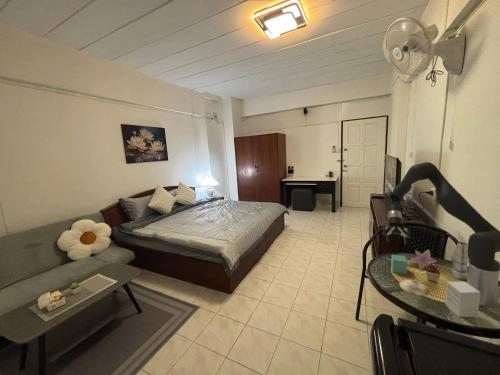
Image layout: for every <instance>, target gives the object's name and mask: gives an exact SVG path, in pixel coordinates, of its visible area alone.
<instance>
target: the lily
mask: <svg viewBox="0 0 500 375" xmlns="http://www.w3.org/2000/svg"><path fill="white" fill-rule="evenodd" d="M414 251H415V252H414V253H415V254H416V256H414V257H412V258H410V261H411V262H414V263H416V264H418V269H419V270H423V269H424V268H426V267H425V265H426V264H429V263H432V264H434V263H436V262H437V261H438V260H437V259H435V258H432V257H431V251H430V249H427V250H425V251H424V252H423V253H421V252H420V251H418V250H414Z"/></svg>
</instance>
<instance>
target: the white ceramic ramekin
mask: <svg viewBox="0 0 500 375" xmlns="http://www.w3.org/2000/svg"><path fill="white" fill-rule="evenodd" d="M409 280H410V288H412V289H415V290H417V289H418V288H419V283H420V282H419V281H417V280H416V279H409Z"/></svg>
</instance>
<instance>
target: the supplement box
mask: <svg viewBox="0 0 500 375" xmlns="http://www.w3.org/2000/svg"><path fill="white" fill-rule="evenodd" d="M480 294H481V292H479V291H478V290H476V289H475V288H474V287H472V286H471V285H469V284H468V283H467V281H465V280H462V281H447V282H446V293H445V306H446V307H447V308H448V309H450V310H451V311H452V312H453V313H454V314H456V315H457V317H460V318H473V317H474V318H475V320H476V319H478V317H479V308H480V305H479V302H480Z"/></svg>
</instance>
